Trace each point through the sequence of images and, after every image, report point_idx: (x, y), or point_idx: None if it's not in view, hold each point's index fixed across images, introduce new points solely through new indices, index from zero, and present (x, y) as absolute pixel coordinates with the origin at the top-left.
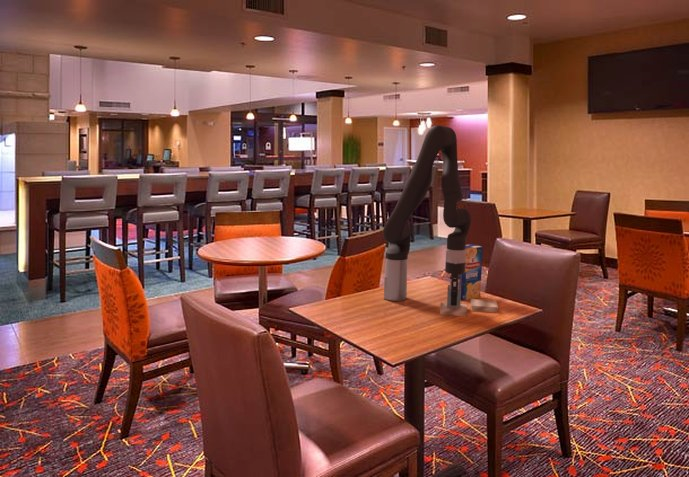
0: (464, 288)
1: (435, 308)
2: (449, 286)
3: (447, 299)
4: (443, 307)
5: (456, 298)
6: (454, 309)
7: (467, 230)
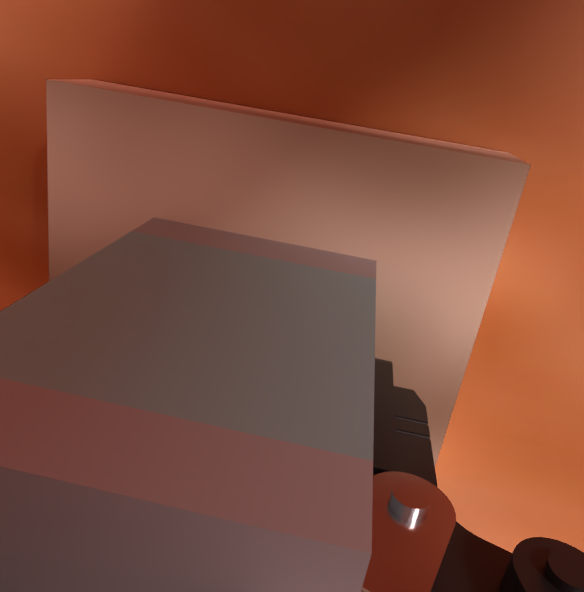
0: None
1: (433, 45)
2: (68, 538)
3: (78, 270)
4: (176, 162)
5: None
6: None
7: None
